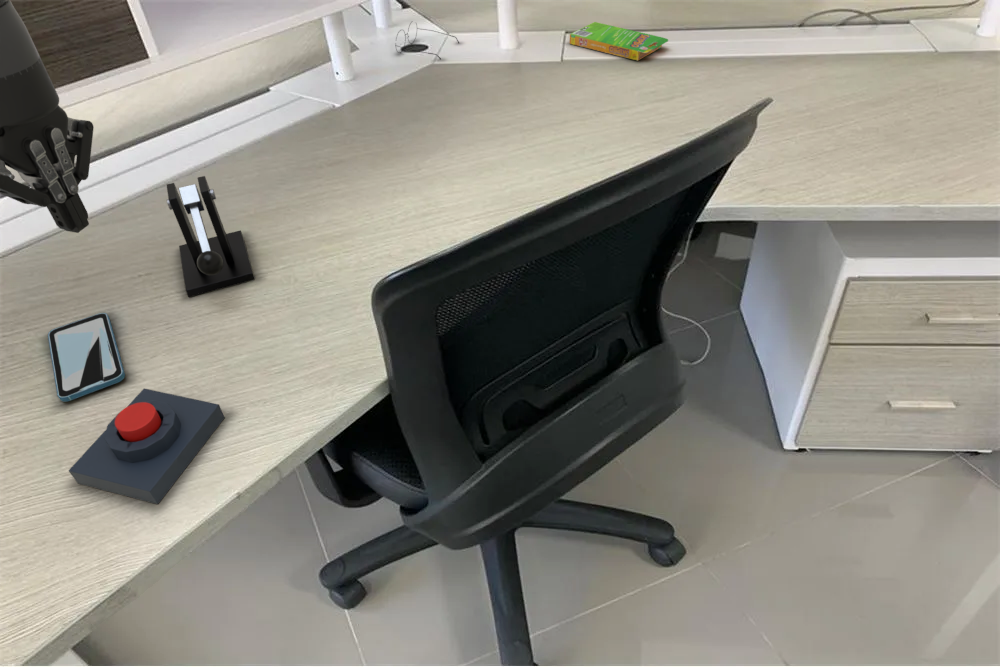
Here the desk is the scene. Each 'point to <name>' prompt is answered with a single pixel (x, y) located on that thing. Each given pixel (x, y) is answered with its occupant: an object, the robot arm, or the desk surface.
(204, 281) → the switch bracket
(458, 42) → the eyeglasses
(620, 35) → the game box
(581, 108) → the desk surface
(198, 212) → the switch lever
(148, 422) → the button
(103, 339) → the smartphone
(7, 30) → the robot arm
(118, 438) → the button block
